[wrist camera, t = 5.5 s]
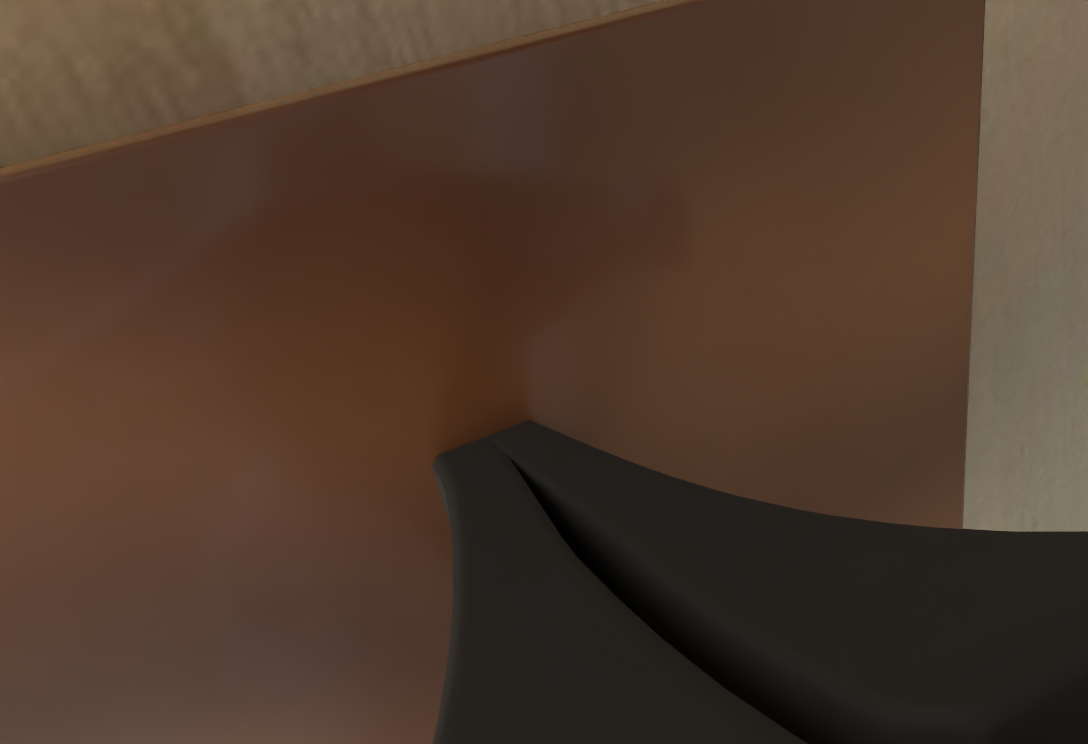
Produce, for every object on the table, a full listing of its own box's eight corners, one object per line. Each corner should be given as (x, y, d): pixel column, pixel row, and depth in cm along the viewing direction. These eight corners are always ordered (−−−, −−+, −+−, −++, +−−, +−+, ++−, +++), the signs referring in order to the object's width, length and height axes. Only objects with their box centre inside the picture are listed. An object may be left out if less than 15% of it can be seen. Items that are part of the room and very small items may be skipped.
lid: (-540, 302, 7) (-618, 334, 6) (940, -71, 11) (991, -76, 10) (126, 1087, 13) (123, 1147, 12) (926, 654, 17) (957, 681, 16)
